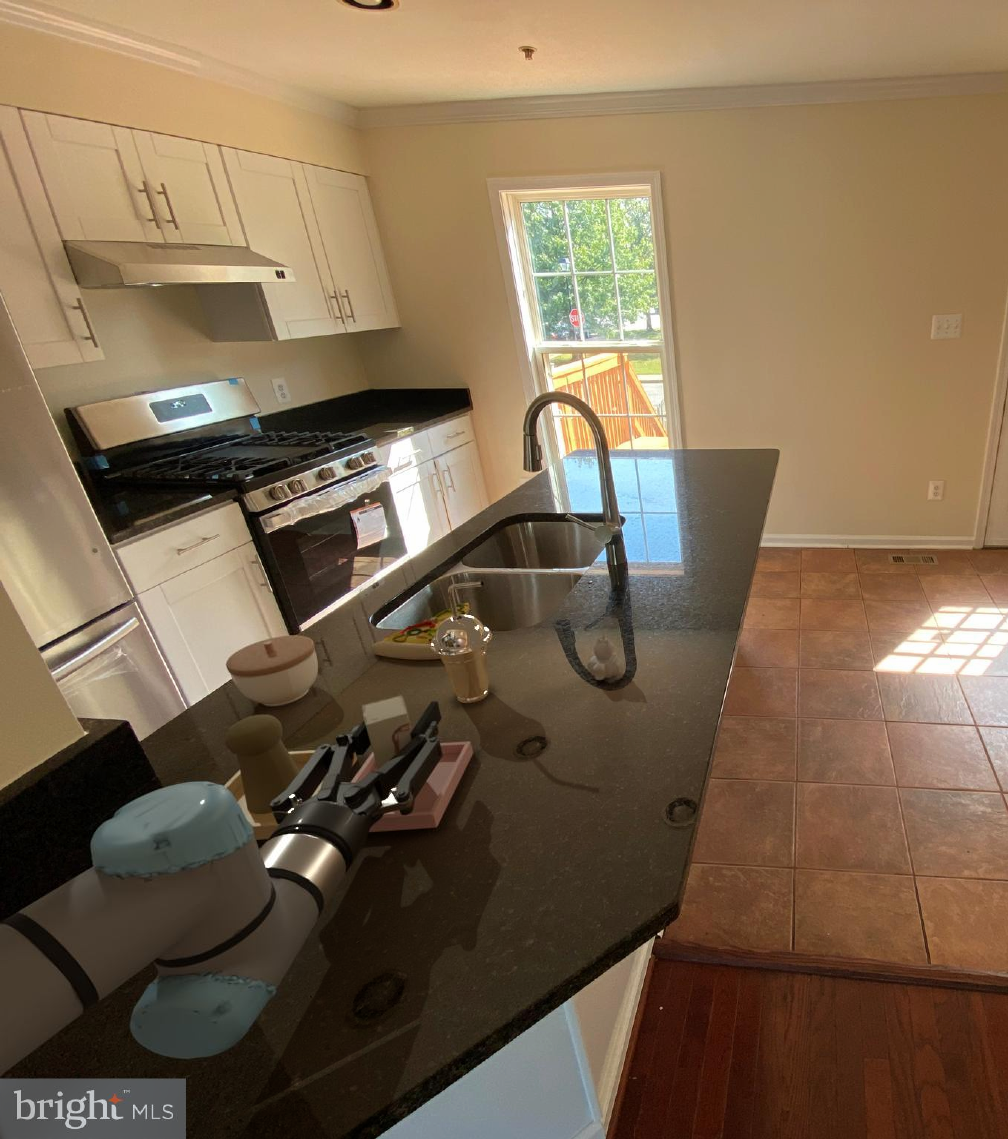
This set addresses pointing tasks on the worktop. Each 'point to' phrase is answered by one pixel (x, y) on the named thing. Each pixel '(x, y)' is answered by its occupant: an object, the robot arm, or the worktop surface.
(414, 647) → the pizza slice
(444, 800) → the pink tray
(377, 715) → the white carton
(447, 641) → the cup with straw
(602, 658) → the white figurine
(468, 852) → the worktop surface
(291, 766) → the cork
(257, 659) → the trinket box
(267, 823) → the birch tray
